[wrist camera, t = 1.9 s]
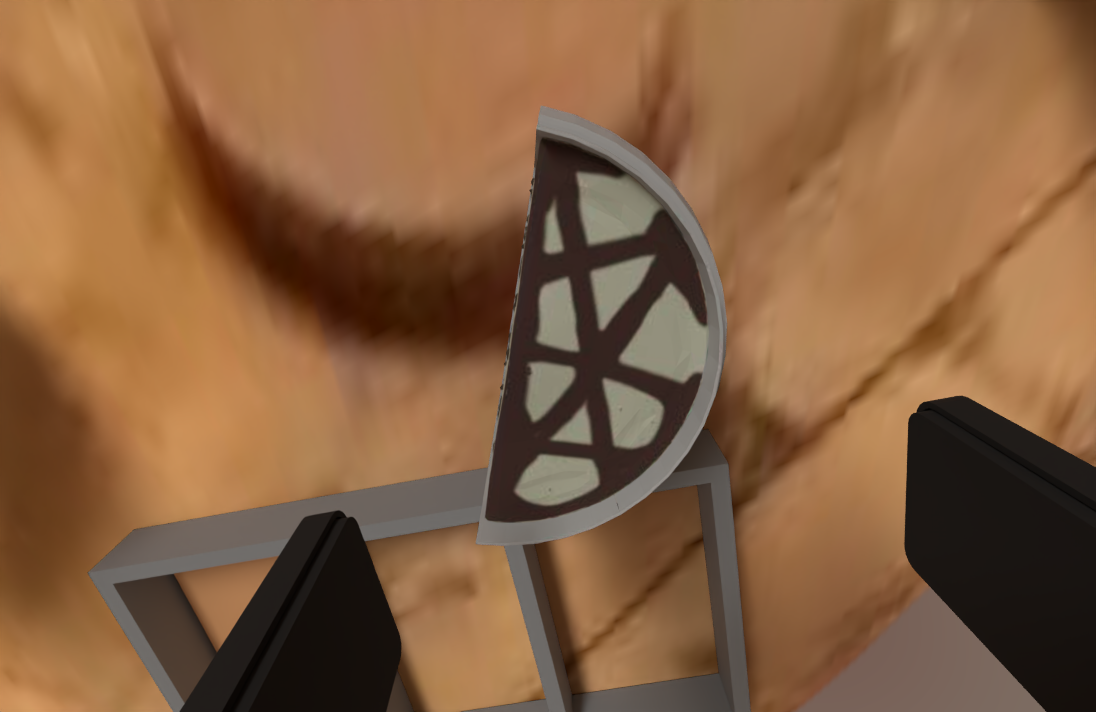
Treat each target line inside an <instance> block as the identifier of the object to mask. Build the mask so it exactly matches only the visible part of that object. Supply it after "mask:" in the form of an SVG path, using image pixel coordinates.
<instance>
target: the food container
mask: <svg viewBox="0 0 1096 712" xmlns="http://www.w3.org/2000/svg"><path fill="white" fill-rule="evenodd" d="M531 184H532V186H531V189H530V192H531V193H530V200H529V206H528V213H527V220H526V226H525V233H524V240H523V245H522V253H521V260H520V267H519V274H518V280H517V287H516V294H515V300H514V306H513V314H512V321H511V327H510V334H509V341H508V348H507V352H506V361H505V363H504V365H505V368H504V375H503V381H502V386H501V387H500V388H501V393H500V399H499V405H498V411H497V417H496V423H495V429H494V436H493V442H492V448H491V454H490V460H489V466H488V472H487V478H486V484H485V490H484V496H483V503H482V509H481V515H480V521H479V527H478V533H477V539H476V544H482V545H499V546H509V545H524V544H536V543H542V542H547V541H552V540H557V539H562V538H566V537H569V536H572V535H575V534H578V533H581V532H584V531H587V530H590V529H592V528H595V527H597V526H599V525H601V524H603V523H605V522H607V521H609V520H611V519H613V518H615V517H617V516H619V515H621V514H623V513H624V512H625V511H627V510H628V509H630V508H631V507H633V506H634V505H636V504H637V503H639V502H640V501H641V500H643V499H644V498H646V497H647V496H648V495H649V494H650V493H651V492H653V491H654V490H655V489H656V488H657V487H658V486H659V485H660V484H661V483H662V482H663V481H664V480H666V479H667V478H668V477H669V476H670V474H671V473H672V472H673V471H674V469H675V468H676V467H677V466H678V465H679V463H680V462H681V461H682V460H683V458H684V457H685V456H686V455H687V453H688V452H689V450H690V449H691V447H692V445H693V443H694V442H695V440H696V438H697V437H698V435H699V433H700V431H701V430H702V428H703V426H704V424H705V422H706V419H707V416H708V414H709V411H710V409H711V406H712V403H713V401H714V398H715V396H716V393H717V391H718V388H719V384H720V379H721V374H722V370H723V365H724V360H725V354H726V333H727V319H726V310H725V302H724V294H723V287H722V284H721V281H720V277H719V274H718V270H717V267H716V264H715V260H714V257H713V254H712V251H711V248H710V245H709V243H708V240H707V238H706V236H705V234H704V232H703V230H702V228H701V226H700V224H699V222H698V220H697V218H696V216H695V214H694V212H693V210H692V208H691V207H690V205H689V204H688V203H687V201H686V200H685V199H684V197H683V196H682V195H681V193H680V192H679V190H678V189H677V188H676V186H675V185H674V184H673V182H672V181H671V180H670V178H669V177H668V176H666V175H665V174H664V173H663V172H662V171H661V170H660V169H659V168H658V167H657V166H656V165H655V164H654V163H653V162H652V161H651V160H650V159H649V158H648V157H647V156H646V155H645V154H644V153H642V152H641V151H640V150H638V149H637V148H635V147H634V146H632V145H631V144H629V143H628V142H626V141H625V140H623V139H622V138H620V137H619V136H618V135H616V134H615V133H613V132H612V131H610V130H608V129H605V128H603V127H601V126H599V125H597V124H594V123H592V122H590V121H588V120H586V119H584V118H581V117H579V116H577V115H574V114H571V113H567V112H563V111H560V110H556V109H552V108H549V107H545V106H541V108H540V112H539V118H538V125H537V130H536V147H535V164H534V173H533V179H532V181H531Z"/></svg>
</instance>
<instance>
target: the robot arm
mask: <svg viewBox="0 0 1096 712" xmlns="http://www.w3.org/2000/svg"><path fill="white" fill-rule="evenodd" d="M904 545H905V552H906V556H907V558H908V561H909V562H910V564H911V566H912V567H913V569H914V570H915V571H916V572H917V573H918V574H919V575H920V576H921V578H922V579H923V580H924V581H925V582H926V583H927V584H928V585H929V586H930V587H931V588H932V589H933V590H934V592H935V593H936V594H937V595H938V596H939V597H940V598H941V599H942V600H943V601H944V602H945V603H946V604H947V605H948V606H949V608H950V609H951V610H952V611H953V612H954V613H955V614H956V615H957V616H958V617H959V618H960V619H961V620H962V621H963V623H964V624H965V625H966V626H967V627H968V628H969V629H970V630H971V631H972V632H973V633H974V634H975V635H976V637H977V638H978V639H979V640H980V641H981V642H982V643H983V644H984V645H985V646H986V647H987V648H988V649H989V651H990V652H991V653H992V654H993V655H994V656H995V657H996V658H997V659H998V660H999V661H1000V662H1001V663H1002V664H1003V665H1004V666H1005V668H1006V669H1007V670H1008V671H1009V672H1010V673H1011V674H1012V675H1013V676H1014V677H1015V678H1016V679H1017V680H1018V682H1019V683H1020V684H1021V685H1022V686H1023V687H1024V688H1025V689H1026V690H1027V691H1028V692H1029V693H1030V694H1031V696H1032V697H1033V698H1034V699H1035V700H1036V701H1037V702H1038V703H1039V704H1040V705H1041V706H1042V707H1043V708H1044V709H1045V711H1046V712H1096V467H1094V466H1092V465H1090V464H1089V463H1087V462H1085V461H1083V460H1081V459H1079V458H1078V457H1076V456H1074V455H1072V454H1070V453H1068V452H1067V451H1065V450H1063V449H1061V448H1059V447H1057V446H1056V445H1054V444H1052V443H1050V442H1048V441H1046V440H1045V439H1043V438H1041V437H1039V436H1037V435H1035V434H1034V433H1032V432H1030V431H1028V430H1026V429H1024V428H1023V427H1021V426H1019V425H1017V424H1015V423H1014V422H1012V421H1010V420H1008V419H1006V418H1004V417H1003V416H1001V415H999V414H997V413H995V412H993V411H992V410H990V409H988V408H986V407H984V406H982V405H981V404H979V403H977V402H975V401H973V400H971V399H970V398H967V397H964V396H954V397H949V398H944V399H938V400H933V401H927V402H923V403H922V404H920V405H919V407H918V409H917V413H913V414H912V415H911V416H910V418H909V422H908V449H907V481H906V512H905V544H904ZM400 657H401V639H400V635H399V632H398V629H397V627H396V624H395V621H394V619H393V616H392V613H391V610H390V608H389V605H388V602H387V600H386V597H385V594H384V592H383V589H382V586H381V584H380V581H379V578H378V576H377V573H376V570H375V568H374V565H373V562H372V560H371V557H370V554H369V552H368V549H367V546H366V544H365V541H364V538H363V536H362V533H361V530H360V528H359V525H358V523H357V521H356V519H355V518H354V517H346V515H345V514H344V513H343V512H342V511H340V510H337V511H331V512H326V513H321V514H315V515H310V516H306V517H304V518H303V519H302V521H301V522H300V524H299V525H298V527H297V528H296V530H295V531H294V533H293V534H292V536H291V538H290V539H289V541H288V542H287V544H286V545H285V547H284V549H283V550H282V552H281V553H280V555H279V556H278V558H277V560H276V561H275V563H274V564H273V566H272V567H271V569H270V571H269V572H268V574H267V575H266V577H265V578H264V580H263V581H262V583H261V585H260V586H259V588H258V589H257V591H256V592H255V594H254V596H253V597H252V599H251V600H250V602H249V603H248V605H247V607H246V608H245V610H244V611H243V613H242V614H241V616H240V617H239V619H238V621H237V622H236V624H235V625H234V627H233V628H232V630H231V632H230V633H229V635H228V636H227V638H226V639H225V641H224V643H223V644H222V646H221V647H220V649H219V650H218V652H217V653H216V655H215V657H214V658H213V660H212V661H211V663H210V664H209V666H208V668H207V669H206V671H205V672H204V674H203V675H202V677H201V679H200V680H199V682H198V683H197V685H196V686H195V688H194V690H193V691H192V693H191V694H190V696H189V697H188V699H187V700H186V702H185V704H184V705H183V707H182V708H181V710H180V711H179V712H386V711H387V707H388V703H389V700H390V696H391V692H392V688H393V684H394V681H395V677H396V673H397V669H398V665H399V662H400Z"/></svg>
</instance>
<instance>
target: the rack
mask: <svg viewBox="0 0 1096 712" xmlns="http://www.w3.org/2000/svg"><path fill="white" fill-rule="evenodd" d="M487 472H488V468H483V469H477V470H472V471H466V472H460V473H455V474H449V475H443V476H437V477H432V478H426V479H420V480H415V481H409V482H403V483H397V484H392V485H386V486H380V487H374V488H369V489H363V490H357V491H352V492H346V493H340V494H334V495H329V496H323V497H317V498H312V499H306V500H300V501H294V502H289V503H283V504H277V505H271V506H266V507H260V508H254V509H249V510H243V511H237V512H231V513H226V514H220V515H214V516H209V517H203V518H197V519H191V520H186V521H180V522H174V523H168V524H163V525H157V526H151V527H146V528H140V529H134V530H133V531H132V532H131V533H130V534H129V535H128V536H126V537H125V538H124V539H123V540H122V541H121V542H120V543H119V544H118V545H117V546H116V547H115V548H114V549H113V550H112V551H110V552H109V553H108V554H107V555H106V556H105V557H104V558H103V559H102V560H101V561H100V562H99V563H98V564H97V565H95V566H94V567H93V568H92V569H91V570H90V571H89V572H88V574H89V576H90V578H91V579H92V581H93V583H94V584H95V586H96V587H97V589H98V591H99V592H100V594H101V596H102V597H103V599H104V600H105V602H106V604H107V605H108V607H109V608H110V610H111V612H112V613H113V615H114V617H115V618H116V620H117V621H118V623H119V625H120V626H121V628H122V630H123V631H124V633H125V634H126V636H127V638H128V639H129V641H130V642H131V644H132V646H133V647H134V649H135V651H136V652H137V654H138V655H139V657H140V659H141V660H142V662H143V663H144V665H145V667H146V668H147V670H148V672H149V673H150V675H151V676H152V678H153V680H154V681H155V683H156V685H157V686H158V688H159V689H160V691H161V693H162V694H163V696H164V697H165V699H166V701H167V702H168V704H169V706H170V707H171V709H172V710H173V712H179V711H180V710H181V708H182V707H183V705H184V704H185V702H186V700H187V699H188V697H189V696H190V694H191V693H192V691H193V690H194V688H195V686H196V685H197V683H198V682H199V680H200V679H201V677H202V675H203V674H204V672H205V671H206V669H207V668H208V666H209V664H210V663H211V661H212V660H213V658H214V657H215V655H216V653H217V652H218V650H219V649H220V647H221V646H222V644H223V643H224V641H225V639H226V638H227V636H228V635H229V633H230V632H231V630H232V628H233V627H234V625H235V624H236V622H237V621H238V619H239V617H240V616H241V614H242V613H243V611H244V610H245V608H246V607H247V605H248V603H249V602H250V600H251V599H252V597H253V596H254V594H255V592H256V591H257V589H258V588H259V586H260V585H261V583H262V581H263V580H264V578H265V577H266V575H267V574H268V572H269V571H270V569H271V567H272V566H273V564H274V563H275V561H276V560H277V558H278V556H279V555H280V553H281V552H282V550H283V549H284V547H285V545H286V544H287V542H288V541H289V539H290V538H291V536H292V534H293V533H294V531H295V530H296V528H297V527H298V525H299V524H300V522H301V521H302V519H303V518H304V517H306V516H310V515H315V514H321V513H326V512H331V511H337V510H340V511H342V512H343V513H344V514H345V515H346V517H354V518H355V519H356V521H357V523H358V525H359V528H360V530H361V533H362V536H363V538H364V541H369V540H375V539H381V538H387V537H393V536H399V535H405V534H411V533H416V532H422V531H428V530H434V529H440V528H446V527H452V526H458V525H464V524H470V523H476V522H479V521H480V515H481V509H482V503H483V496H484V490H485V484H486V478H487ZM694 485H697V488H698V497H699V506H700V514H701V523H702V532H703V540H704V549H705V558H706V566H707V575H708V584H709V592H710V601H711V610H712V618H713V627H714V635H715V644H716V653H717V661H718V670H719V673H718V674H711V675H704V676H698V677H691V678H684V679H678V680H671V681H664V682H657V683H651V684H644V685H637V686H630V687H624V688H617V689H610V690H604V691H597V692H590V693H583V694H577V695H572V693H571V689H570V685H569V681H568V677H567V673H566V669H565V665H564V661H563V657H562V653H561V649H560V645H559V641H558V637H557V633H556V629H555V625H554V621H553V617H552V613H551V609H550V605H549V601H548V597H547V593H546V589H545V585H544V581H543V577H542V573H541V569H540V565H539V561H538V557H537V553H536V549H535V545H534V544H524V545H509V546H504V548H505V551H506V555H507V559H508V562H509V566H510V570H511V573H512V577H513V580H514V584H515V588H516V591H517V595H518V599H519V602H520V606H521V610H522V613H523V617H524V621H525V624H526V628H527V632H528V635H529V639H530V642H531V646H532V650H533V653H534V657H535V661H536V664H537V668H538V672H539V675H540V679H541V683H542V686H543V690H544V693H545V697H546V699H543V700H536V701H530V702H523V703H516V704H510V705H503V706H496V707H489V708H483V709H476V710H469V711H463V712H751V709H750V698H749V687H748V676H747V665H746V654H745V643H744V632H743V621H742V610H741V599H740V588H739V577H738V566H737V555H736V543H735V532H734V521H733V510H732V499H731V488H730V477H729V466H728V462H727V460H726V459H725V457H724V455H723V454H722V452H721V450H720V449H719V447H718V445H717V444H716V442H715V440H714V439H713V437H712V435H711V433H710V432H709V430H708V429H706V430H701V431H700V433H699V435H698V437H697V438H696V440H695V442H694V443H693V445H692V447H691V449H690V450H689V452H688V453H687V455H686V456H685V457H684V458H683V460H682V461H681V462H680V463H679V465H678V466H677V467H676V468H675V469H674V471H673V472H672V473H671V474H670V476H669V477H668V478H667V479H666V480H664V481H663V482H662V483H661V484H660V485H659V486H658V487H657V488H656V489H655V490H654V491H653V492H659V491H665V490H671V489H677V488H683V487H689V486H694ZM653 492H651V493H653ZM386 712H414V711H413V708H412V706H411V703H410V701H409V698H408V696H407V693H406V691H405V688H404V686H403V683H402V681H401V678H400V676H399V673H398V671H397V673H396V677H395V681H394V684H393V688H392V692H391V696H390V700H389V703H388V707H387V711H386Z"/></svg>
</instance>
